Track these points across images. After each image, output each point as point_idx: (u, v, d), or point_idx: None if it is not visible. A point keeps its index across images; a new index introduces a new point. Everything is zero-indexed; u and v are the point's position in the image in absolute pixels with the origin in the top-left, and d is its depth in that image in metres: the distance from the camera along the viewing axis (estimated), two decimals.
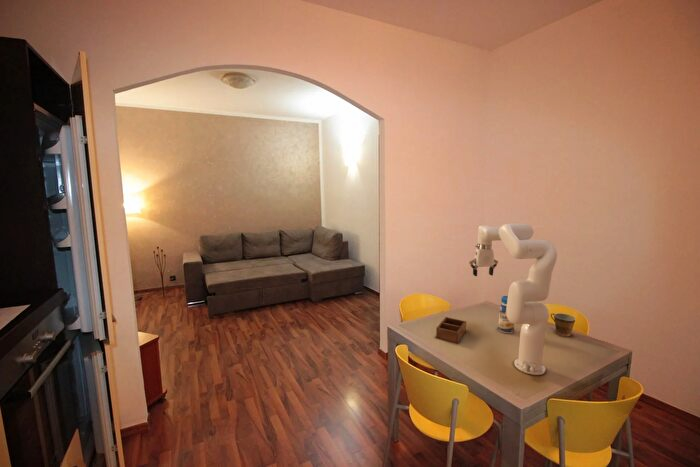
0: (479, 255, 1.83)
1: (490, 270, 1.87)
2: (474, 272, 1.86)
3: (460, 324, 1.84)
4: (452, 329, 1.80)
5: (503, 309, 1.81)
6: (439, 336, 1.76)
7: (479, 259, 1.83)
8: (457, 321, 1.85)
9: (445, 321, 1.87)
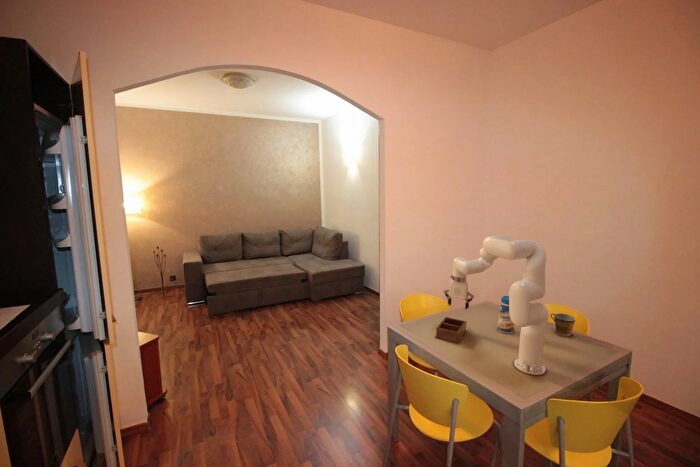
0: (450, 286, 1.86)
1: None
2: (448, 301, 1.90)
3: (460, 324, 1.84)
4: (452, 329, 1.80)
5: (503, 309, 1.81)
6: (439, 336, 1.76)
7: (450, 289, 1.86)
8: (457, 321, 1.85)
9: (445, 321, 1.87)
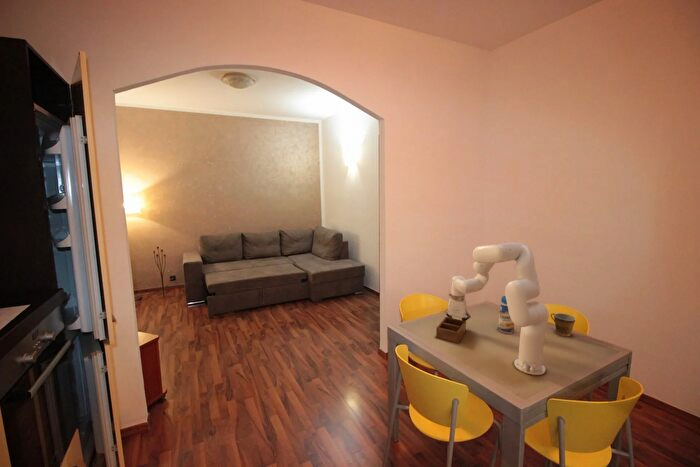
0: (449, 304, 1.87)
1: None
2: None
3: (460, 324, 1.84)
4: (452, 329, 1.80)
5: (503, 309, 1.81)
6: (439, 336, 1.76)
7: (449, 308, 1.88)
8: (457, 321, 1.85)
9: (445, 321, 1.87)
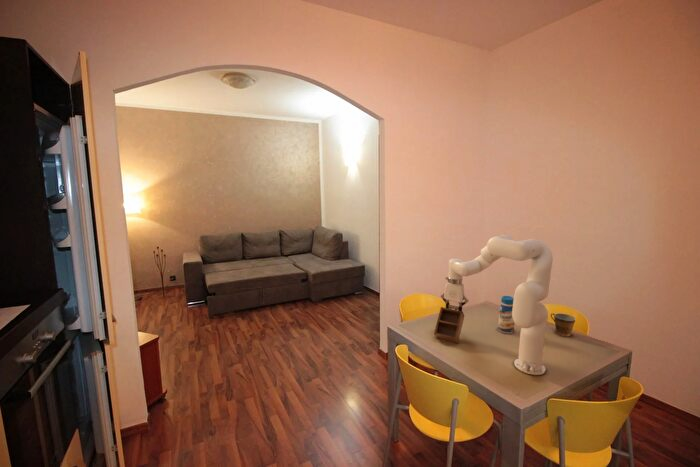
0: (446, 288, 1.79)
1: None
2: None
3: (457, 313, 1.77)
4: (450, 325, 1.75)
5: (503, 309, 1.81)
6: (438, 337, 1.76)
7: (445, 292, 1.80)
8: (453, 311, 1.77)
9: (441, 313, 1.80)
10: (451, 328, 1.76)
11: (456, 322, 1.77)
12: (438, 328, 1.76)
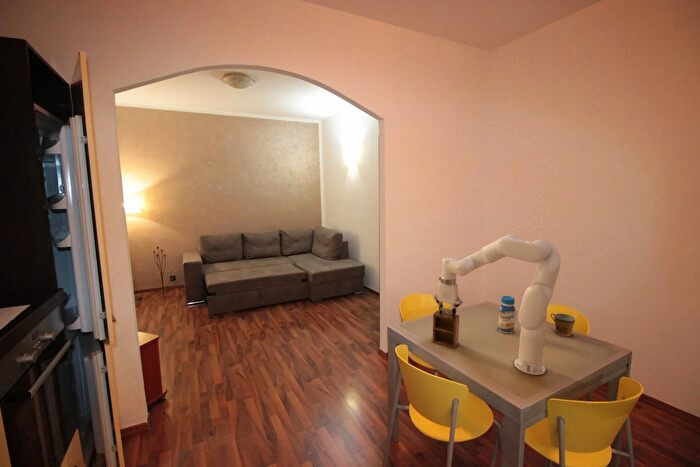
0: (439, 289, 1.69)
1: None
2: (439, 308, 1.72)
3: None
4: None
5: (503, 309, 1.81)
6: None
7: (438, 293, 1.69)
8: None
9: (435, 319, 1.71)
10: None
11: (452, 323, 1.70)
12: (436, 333, 1.73)
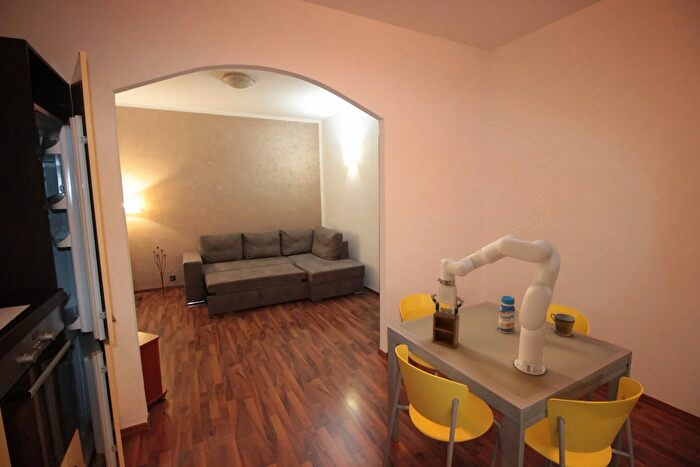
0: (438, 290, 1.68)
1: None
2: (435, 307, 1.72)
3: None
4: None
5: (503, 309, 1.81)
6: None
7: (437, 294, 1.68)
8: None
9: (435, 319, 1.71)
10: None
11: (452, 323, 1.70)
12: (436, 333, 1.73)
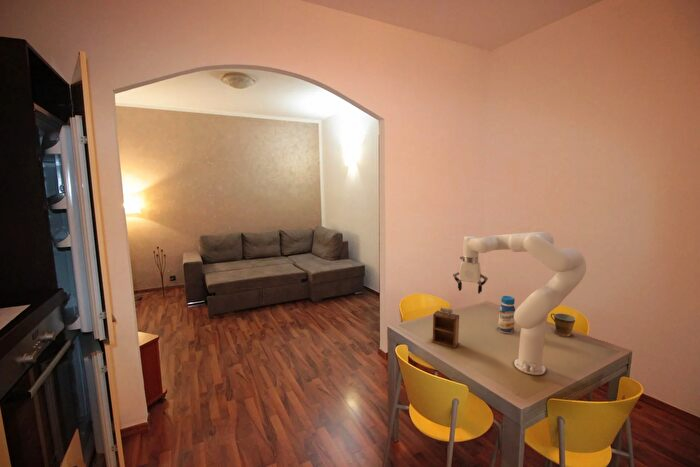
0: (460, 268, 1.66)
1: None
2: (458, 286, 1.70)
3: None
4: None
5: (503, 309, 1.81)
6: None
7: (460, 272, 1.66)
8: None
9: (435, 319, 1.71)
10: None
11: (452, 323, 1.70)
12: (436, 333, 1.73)
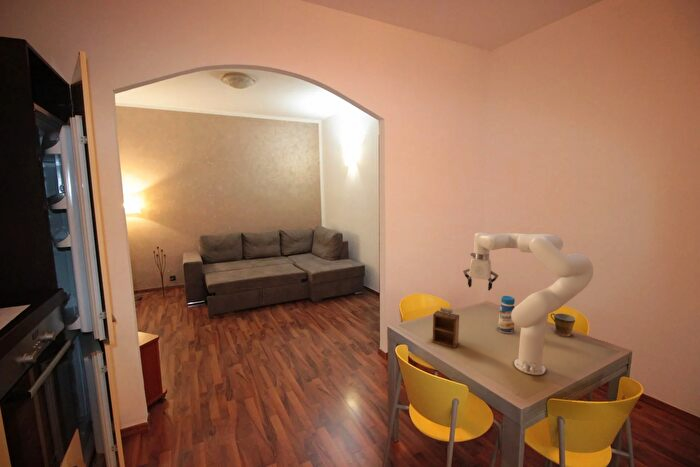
0: (471, 264, 1.66)
1: None
2: (468, 282, 1.70)
3: None
4: None
5: (503, 309, 1.81)
6: None
7: (471, 269, 1.66)
8: None
9: (435, 319, 1.71)
10: None
11: (452, 323, 1.70)
12: (436, 333, 1.73)
